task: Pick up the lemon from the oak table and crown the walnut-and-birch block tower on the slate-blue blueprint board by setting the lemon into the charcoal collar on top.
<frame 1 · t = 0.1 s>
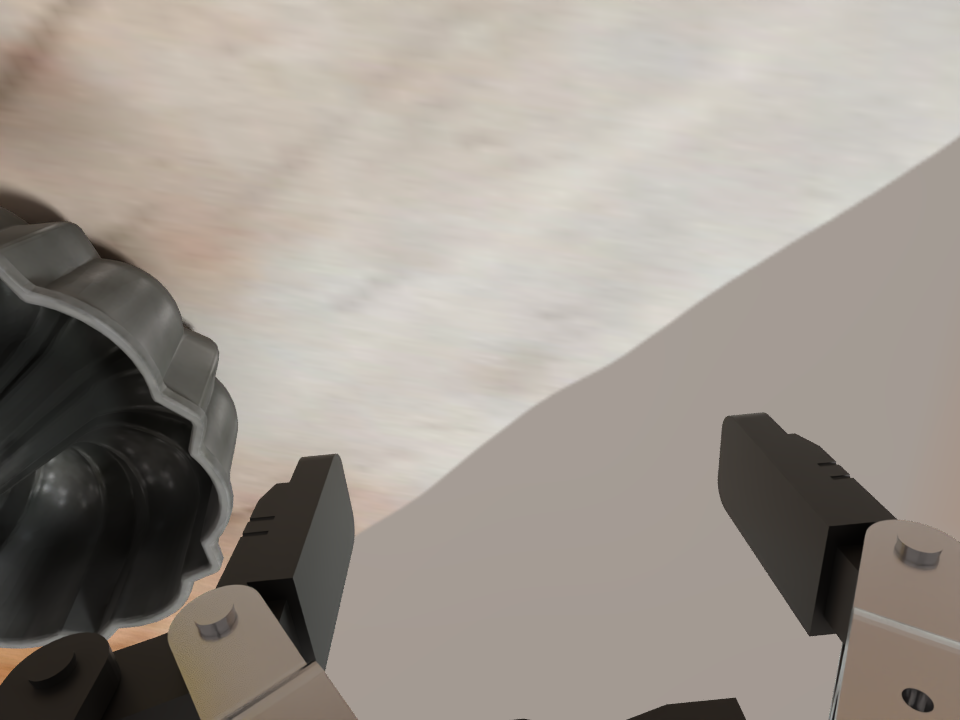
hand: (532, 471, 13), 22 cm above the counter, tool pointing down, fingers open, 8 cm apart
bundt pan: (55, 369, 36), on the counter
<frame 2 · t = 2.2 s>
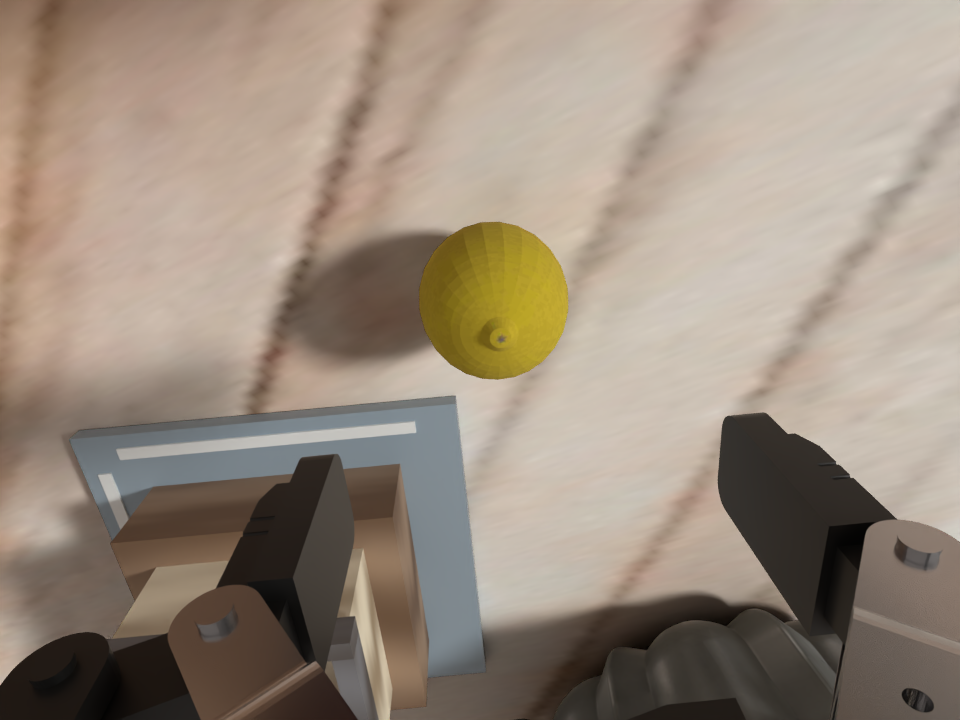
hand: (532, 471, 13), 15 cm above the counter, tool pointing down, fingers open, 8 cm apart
block tower: (278, 643, 27), on the blueprint board, point 5 cm above the counter
bundt pan: (706, 710, 39), on the counter
blueprint board: (305, 558, 32), on the counter
lemon: (487, 268, 26), on the counter
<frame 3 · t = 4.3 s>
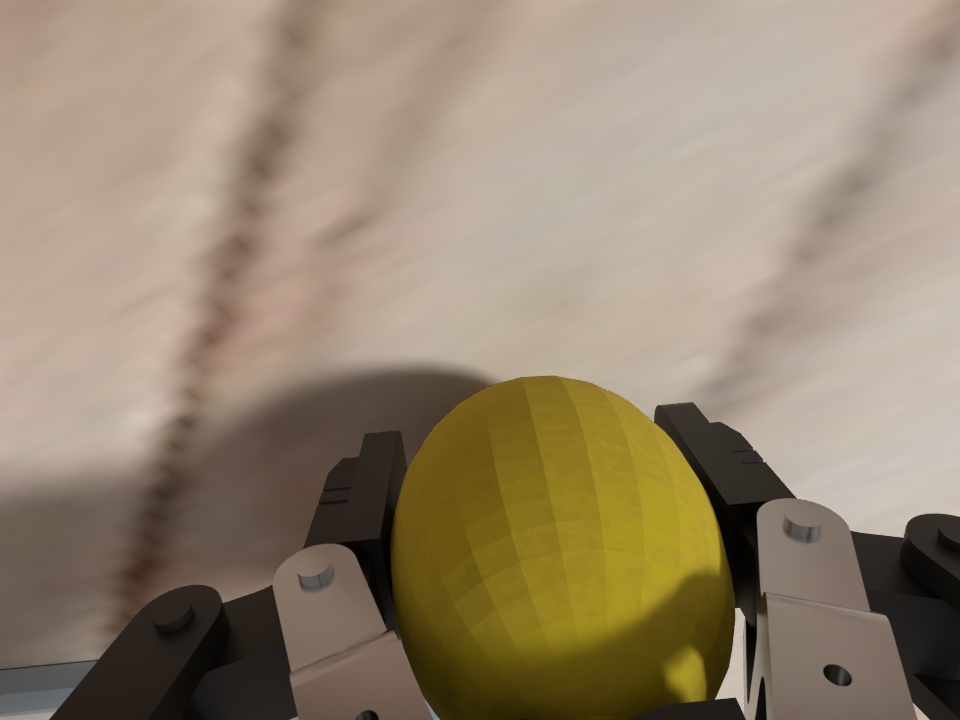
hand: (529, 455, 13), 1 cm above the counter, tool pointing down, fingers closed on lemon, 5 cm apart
lemon: (524, 425, 14), on the counter, touching gripper
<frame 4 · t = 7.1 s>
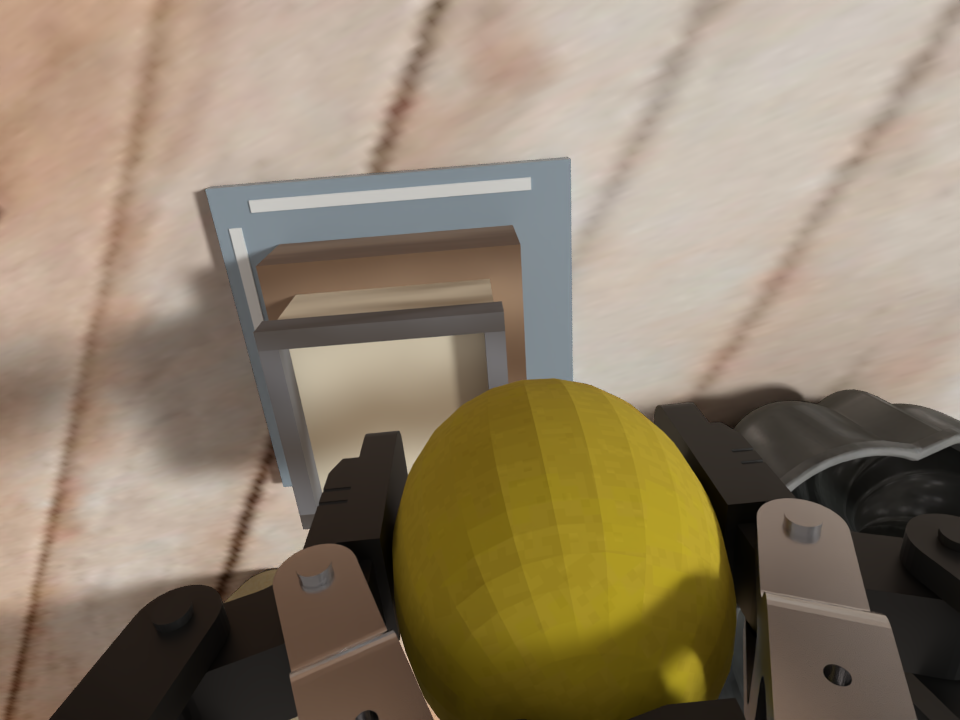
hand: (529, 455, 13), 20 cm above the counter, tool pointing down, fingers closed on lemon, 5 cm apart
block tower: (404, 379, 29), on the blueprint board, point 5 cm above the counter
bundt pan: (774, 520, 41), on the counter
blueprint board: (411, 336, 34), on the counter
plant pot: (292, 605, 43), on the counter
lemon: (525, 427, 14), point 19 cm above the counter, touching gripper
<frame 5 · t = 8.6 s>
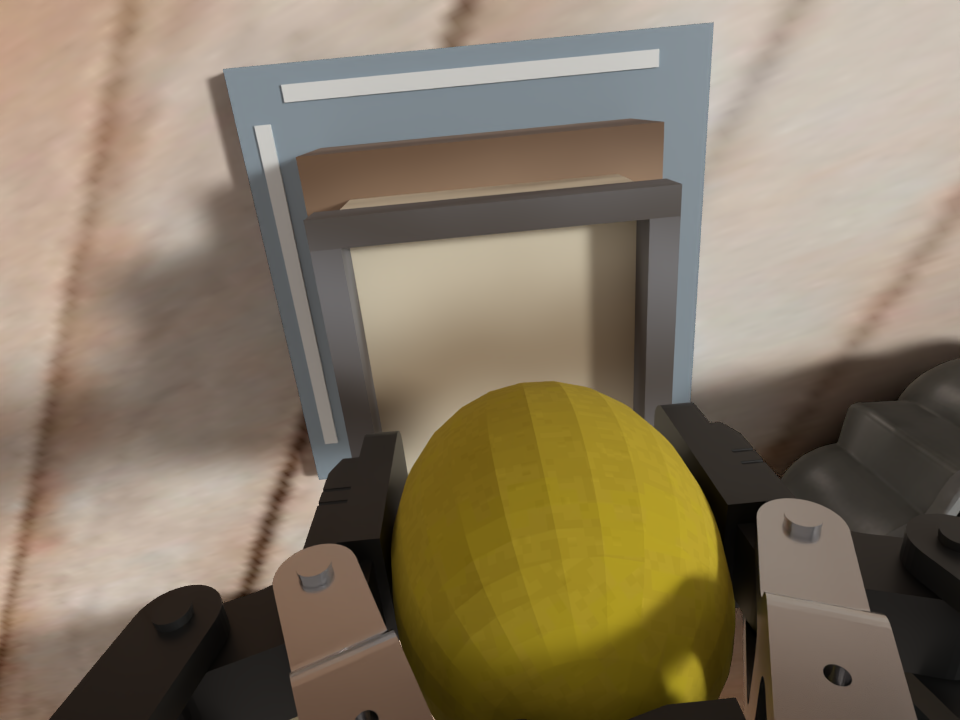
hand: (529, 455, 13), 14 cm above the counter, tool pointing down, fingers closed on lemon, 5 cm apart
block tower: (495, 319, 21), on the blueprint board, point 5 cm above the counter
bundt pan: (925, 516, 33), on the counter
blueprint board: (487, 278, 26), on the counter
lemon: (524, 429, 14), point 13 cm above the counter, touching gripper
when the fingers open (12 cm above the counter, at t = 9.9 s): lemon drops 2 cm, resting on block tower.
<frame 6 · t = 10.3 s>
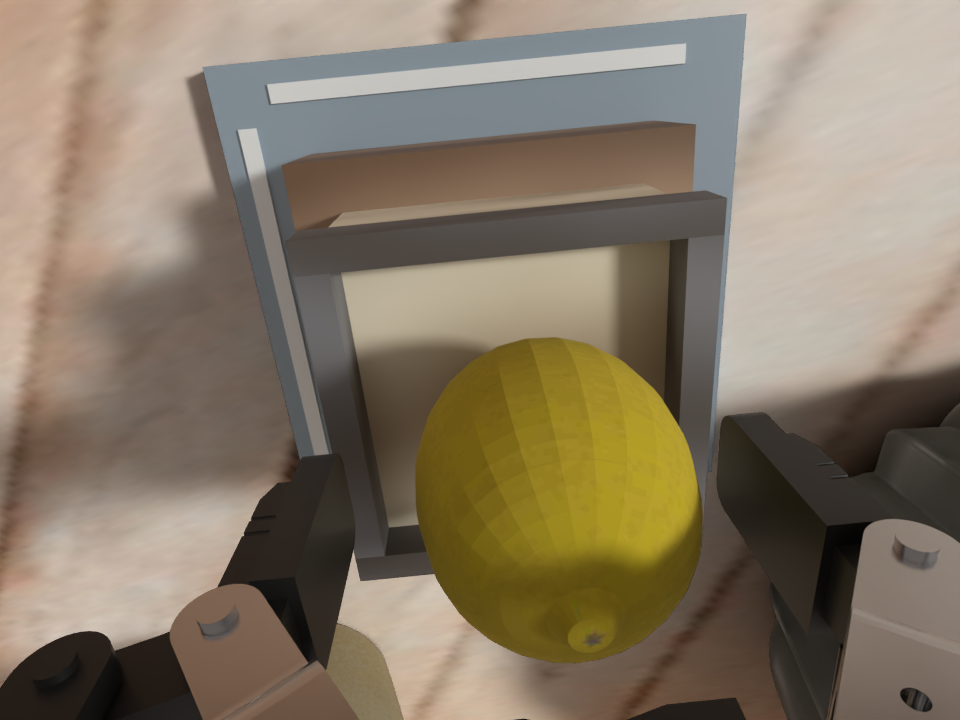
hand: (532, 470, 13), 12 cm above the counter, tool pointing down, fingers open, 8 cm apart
block tower: (505, 344, 19), on the blueprint board, point 5 cm above the counter
blueprint board: (494, 294, 24), on the counter
plant pot: (320, 668, 32), on the counter
lemon: (527, 388, 16), point 9 cm above the counter, touching block tower
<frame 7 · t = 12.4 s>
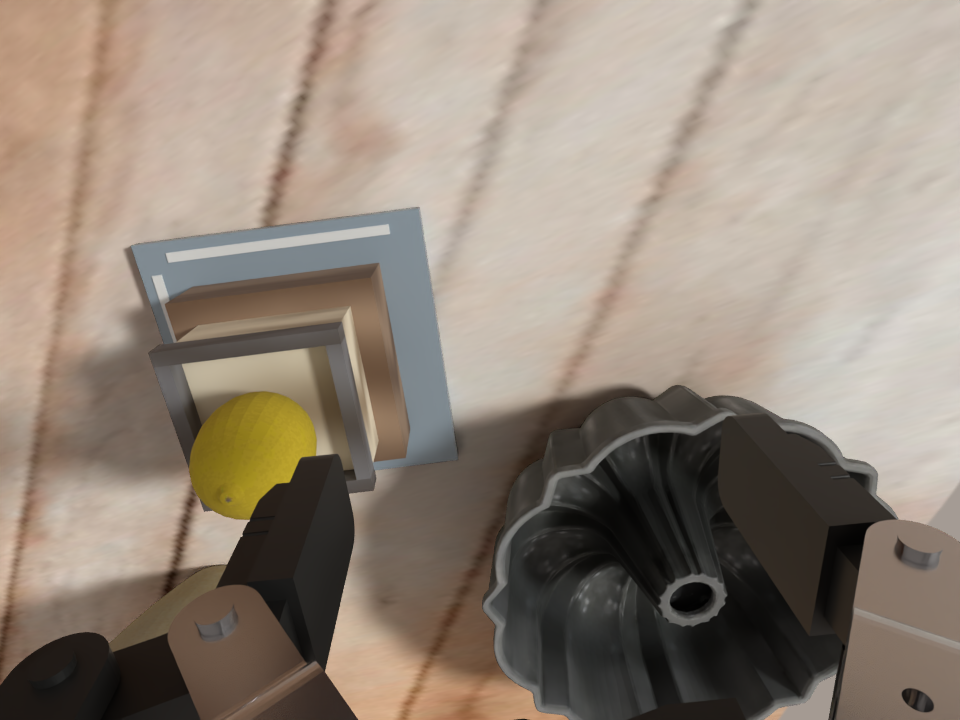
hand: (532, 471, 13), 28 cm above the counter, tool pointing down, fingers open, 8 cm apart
block tower: (289, 389, 36), on the blueprint board, point 5 cm above the counter
bundt pan: (646, 506, 47), on the counter
blueprint board: (310, 357, 41), on the counter
plant pot: (232, 600, 49), on the counter
lemon: (280, 413, 33), point 9 cm above the counter, touching block tower
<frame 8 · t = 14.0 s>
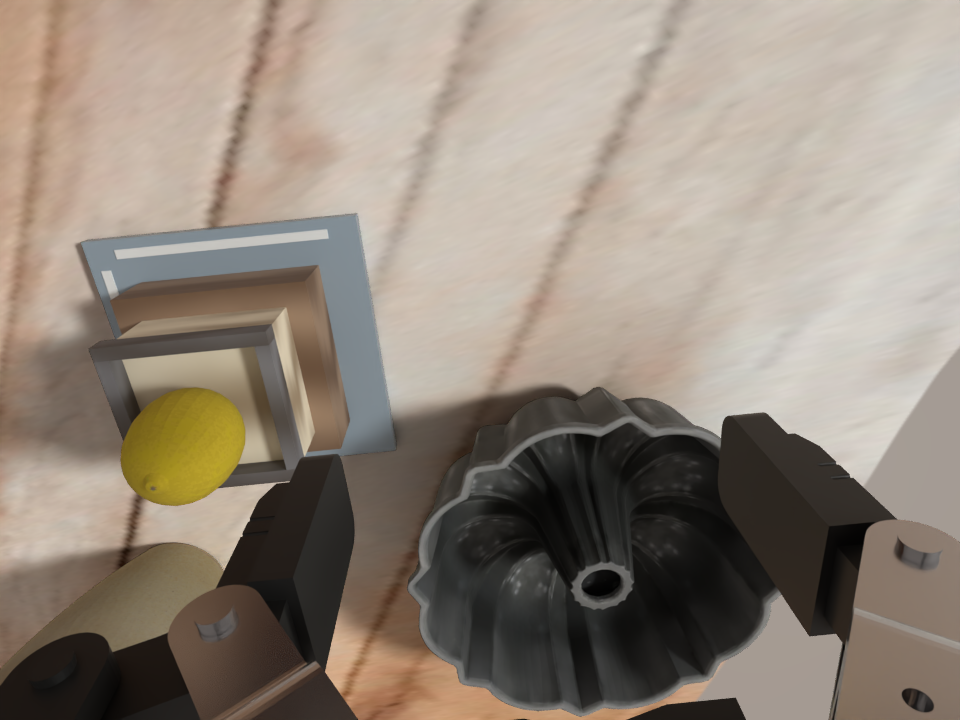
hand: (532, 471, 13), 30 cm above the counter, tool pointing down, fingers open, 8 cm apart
block tower: (229, 383, 38), on the blueprint board, point 5 cm above the counter
bundt pan: (575, 497, 50), on the counter
blueprint board: (254, 350, 43), on the counter
plant pot: (184, 575, 51), on the counter
lemon: (216, 406, 35), point 9 cm above the counter, touching block tower
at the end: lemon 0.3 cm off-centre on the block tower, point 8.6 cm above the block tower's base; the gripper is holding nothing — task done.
